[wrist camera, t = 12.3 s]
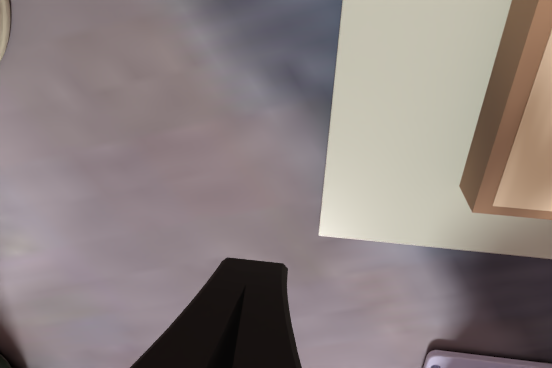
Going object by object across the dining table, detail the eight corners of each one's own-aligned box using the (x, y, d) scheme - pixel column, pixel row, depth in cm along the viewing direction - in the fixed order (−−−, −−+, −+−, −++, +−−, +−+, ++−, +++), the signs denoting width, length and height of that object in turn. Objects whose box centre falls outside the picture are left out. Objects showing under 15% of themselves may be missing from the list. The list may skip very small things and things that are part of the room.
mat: (633, 259, 19) (641, 268, 19) (319, 227, 20) (318, 235, 20) (906, -219, 11) (933, -227, 11) (365, -222, 12) (366, -229, 12)
